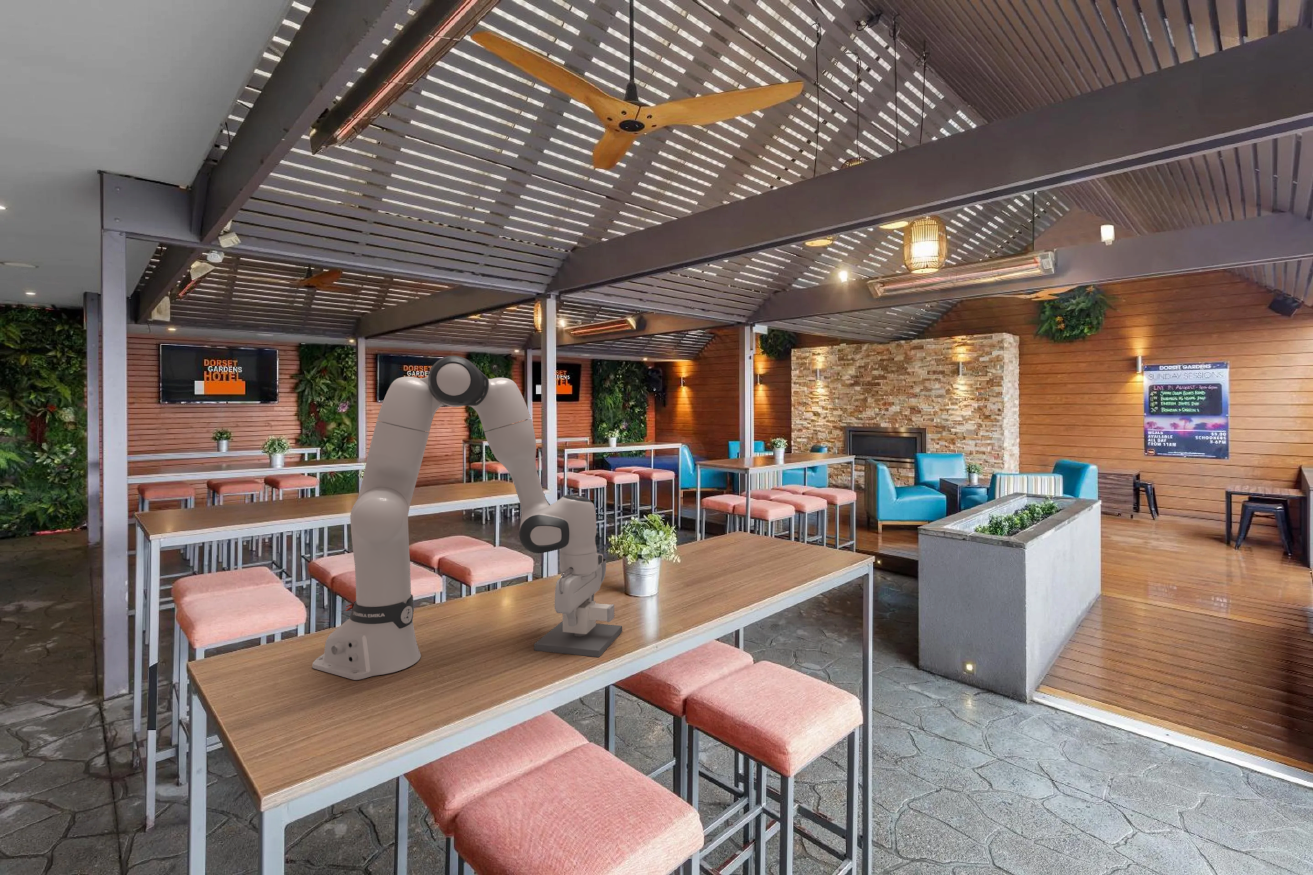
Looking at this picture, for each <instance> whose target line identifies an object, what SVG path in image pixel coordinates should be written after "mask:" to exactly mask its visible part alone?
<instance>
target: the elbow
mask: <svg viewBox="0 0 1313 875" xmlns="http://www.w3.org/2000/svg"><path fill="white" fill-rule="evenodd" d="M575 614H576V617H578V623H577V625H575V626H569V625H568V618H567V615H566V614H562V621H563V632H569V633H579V634H587V633H588V632H589V631H590V630H592V629H593V628H594V627H595V626H596V623H597V621H601V622H607V623H611V621H613V620H614V619H615V604H614V603H612V604H608V603H599V602H597V603H596V600H594V601H588V600H586V601H585V602H583V603H582V604H581V605H580V606H578V607H577V608H576V612H575Z"/></svg>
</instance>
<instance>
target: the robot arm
mask: <svg viewBox="0 0 1313 875" xmlns="http://www.w3.org/2000/svg"><path fill="white" fill-rule="evenodd" d="M467 406H468V407H470V408H472V409H473V410H474V411H476V413H477V415H478V418H479V420H480V422H481V426H482V430H483V432H484V436H485V438H486V441H487V445H488V446H489V448H490V450H491V452H492V454H493V456H494V458H495V459H496V460H497V461H498V463H500V464H501V465H502V467H504V468H505V469H506V471H507V472H508V473H509V475H510V477H511V479H512V482H513V485H514V489H515V491H516V496H517V498H518V500H519V504H520V509H521V512H520V518H519V519H520V520H519V531H518V532H519V533H518V536H519V542H520V543H521V545H522V546H523V547H524V549H525V550H527V551H528V552H531V553H534V554H544V553H549V552H554V551H558V550H559V571H560V573H561V574H560V577H559V578H558V579H557V581H556V584H555V588H554V610H555V612H556V613H557V614H562V615H563V614H566V615H567V618H568V625H569V626H575V625H577V623H578V617H576V614H575V612H576V608H577V607H578V606H580V605H581V604H582V603H583V602H585V601H586V600H588V601H591V600H592V595H593V594H594V595H595V594H596V593H597V592H598V591H600V589H601V586H602V583H601V575H602V567H601V563H602V562H603V557H604V555H603V554H602V553H598V550H597V549H598V548H597V545H596V536H597V530H598V529H597V516H596V507H595V505H594V503H593V502H592V500H591V499H589V498H588V497H585V496H583V495H576V494H565V495H562V497H560V498H559V499H558V500H556V501H555V502H553V503H552V504H550V503H549V501H548V499H547V498H546V495H545V492H544V489H543V485H542V484H541V483H542V482H541V479H540V477H539V473H538V469H537V461H536V458H537V457H536V456H537V441H536V434H535V428H534V423H533V420H532V419H531V418H532V417H531V414H530V411H529V408H528V407H527V403H526V401H525V398H524V396H523V395H522V392H521V389H519V387H518V384H517V383H516V382H515V381H514V380H512V379H510V378H506V377H494V378H488V376H487V375H485V373H483V372H482V371H481V369H479V368H478V367H477V366H476V365H475V364H474V363H472V361H471V360H469V359H467V358H464V357H462V356H458V355H448V356H445V357H442V358H440V359H438V360H437V361H435V363H434V364H433V365H432V366H431V368H430V370H429V372H428V375H427V376H425V377H423V378H422V377H421V378H420V377H415V376H402V377H398V378H395V379H394V380H393V381H392V382H391V383H390V385H389V387H388V389H387V391H386V394H385V395H384V399H383V400H382V403H381V405H380V409H379V412H378V414H377V419H376V422H375V427H374V430H373V434H372V438H371V441H370V446H369V450H368V453H367V458H366V461H365V468H364V471H363V475H362V481H361V486H360V489H359V494H358V497H357V500H356V501H355V502H354V504H353V506H352V508H351V510H350V517H349V519H350V520H349V521H350V530H351V534H350V535H351V543H352V554H353V560H354V574H355V600H354V601H353V603H350V604H347V605H346V606H345V608H346V609H345V612H348V611H350V610H351V612H350V615H349V618H348V619H347V620H346V621H344V622H343V623H342V624H341V625H340V626H338V627H337V628H336V629H335V630H333V631H332V632H331V633H330V634H329V635H328V637H327V638H326V640H325V645H324V653H323V654H321V655H320V656H318V657H316V659H315V660H313V662H312V669H315V670H318V671H320V672H321V671H322V672H325V673H329V674H332V675H336V676H339V677H342V678H347V679H350V680H353V681H358V680H364V679H366V678H369V677H375V676H380V675H388V674H392V673H396V672H398V671H401V670H405V669H407V668H409V667H411V666H413V665H414V664H416V663H418V662H419V661H420V659H421V657H422V654H421V651H420V649H419V644H418V643H417V637H416V632H415V627H414V620H413V619H414V611H415V609H414V606H415V605H414V595H413V594H412V584H411V579H412V578H411V558H410V556H411V554H410V539H409V538H410V537H409V536H410V535H409V512H410V506H411V503H412V499H413V496H414V492H415V488H416V484H417V481H418V477H419V473H420V471H421V466H422V463H423V458H424V454H425V451H426V448H427V444H428V440H429V435H430V432H431V427H432V423H433V420H434V417H435V414H436V412H437V411H438V410H439V409H440V408H445V407H447V408H448V407H453V408H458V407H459V408H460V407H467Z"/></svg>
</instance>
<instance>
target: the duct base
mask: <svg viewBox="0 0 1313 875" xmlns="http://www.w3.org/2000/svg"><path fill="white" fill-rule="evenodd" d="M622 633H623V625H616V624H607V623H598V622H596V626H595V627H594V628H593V629H592V630H590V631H589V632H588V633H587V634H579V633H569V632H563V620H561V622H559V623H557V625H555V626H554V627H553V628H552V629H551V630H549V632H547V633H546V634H544V635H543V636H542V637H541V638H539V639H538V640H537V641H536V642H535V643H533V646H534V647H533V648H534V650H533V651H536V652H537V651H538V652H547V653H556V654H563V655H574V656H575V655H576V656H585V657H594V658H601V656H602V654H604V653H605V652H606V651H607V650H608V648H609V647H610V646H612V643H613V642H614V641H615V640H616V639H617V638H618V637H620V635H621V634H622Z"/></svg>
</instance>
